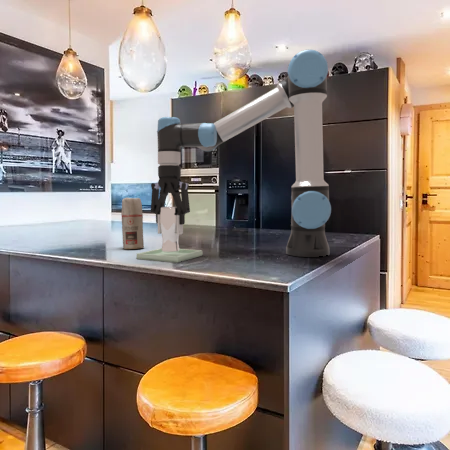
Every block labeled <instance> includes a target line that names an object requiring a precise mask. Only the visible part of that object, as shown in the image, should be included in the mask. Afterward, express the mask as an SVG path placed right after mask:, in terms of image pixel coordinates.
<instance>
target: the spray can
mask: <svg viewBox="0 0 450 450" xmlns="http://www.w3.org/2000/svg"><path fill="white" fill-rule="evenodd" d="M143 214H144V213H143V205H142V200H141V198H140V197H124V198H122V200H121V233H122V245H123V248H122V249H123V250H137V249H143V248H144V247H145V246H144V226H143V225H144V220H143V219H144V217H143Z"/></svg>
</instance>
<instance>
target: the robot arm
mask: <svg viewBox="0 0 450 450" xmlns="http://www.w3.org/2000/svg"><path fill="white" fill-rule="evenodd" d="M328 73H329V65H328V61H327V59H326V57H325V55H324V54H322V53H321V52H319V50H318V51H317V50H316V49H305V50H301V51H299V52H297V53H296V54H295V55H294V56H293V57H292V58H291V60H290V61H289V64H288V67H287V76H286V77H285V78H284V79H282V80H280V81H279V82H277V86H276V87H274V88H273V89H271V90H270V91H268V92H266V93H264V94H262V95H260V96H259V97H257V98H255V99H253V100H251V101H250V102H248V103H247V104H245V105H243V106H241V107H239V108H238V109H236V110H234V111H233V112H231V113H228V115H226V116H223V117H222V118H220V119H218V120H217V121H215V122H211V123H210V122H207V123H206V122H201V123H200V122H199V123H197V122H196V123H181V119H180V118H178V117H175V116H164V117H162V116H161V117H160V118H159V119H158V120H157V131H156V133H157V164H158V167H157V175H158V181H157V182H153V183H151V184H150V187H151V199H150V200H151V202H150V203H151V204H150V212H151V213H153V214H155V223H156V224H157V235H158V234H159V235H160V234H161V235H162V233H161V227H160V207H165V204H166V201H167V197H168V195H169V194H171V196H172V197H173V201H174V203H175V204H174V205H175V207H177V211H178V215H176V226H177V235H179V236H180V235H183V234H184V225H185V223H186V222H185V221H186V220H185V219H186V217H185V216H186V214H189V213H190V212H191V209H190V199H189V198H190V197H189V186H190V184H189V183H188V182H183V181H182V180H181V176H182V174H181V173H182V171H181V169H182V167H181V166H180V165H181V163H182V162H181V158H182V157H181V148H198V149H200V150H201V151H203V152H211V151H215V149H216V148H217V147H218V146H219V145H221V144H223V143H225V142H226V141H228V140H229V139H232V138H233V137H235V136H237V135H239V134H241V133H243V132H245V131H246V130H248V129H249V128H251V127H253V126H256V125H257V124H259V123H260V122H262V121H264V120H266V119H268V118H270V117H271V116H274V115H275V114H278V113H279V112H281V111H282V110H285V109H286V108H288V109H292V108H293V114H294V115H293V117H294V119H293V120H294V146H295V147H294V152H295V154H294V155H295V157H294V158H295V159H294V160H295V182H294V183H293V184H292V185H291V196H290V201H291V217H290V218H291V219H290V223H291V224H290V229H291V230H290V235H289V237H288V241H287V244H286V247H285V254H286V255H288V256H291V257H292V256H293V257H298V258H299V257H301V258H320V257H319V256H323V257H327V256H326V255H328V256H330V246H329V243H328V239H327V236H326V229H325V228H326V223H327V221H329V219H330V217H331V213H332V205H331V202H330V187H329V183H327V182H326V180H325V179H324V142H323V141H324V139H323V138H324V137H323V135H324V134H323V133H324V132H323V102H324V101H325V100H326V99H327V97H328V93H327V92H328V90H327V88H328V86H327V85H328V84H327V83H328V82H327V80H328V79H327V76H328V75H329V74H328ZM179 189H180V190H179Z"/></svg>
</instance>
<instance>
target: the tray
mask: <svg viewBox="0 0 450 450" xmlns="http://www.w3.org/2000/svg"><path fill="white" fill-rule="evenodd" d="M179 249H180V251H179V252H173V253H166V252H162V247H161V248H156V249H151V250H148V251H142V252H138V253H136V260H144V261H153V262H166V263H176V264H178V263H181V261H182V262H184V261H188V260H193V259H195V258H198V257H203V254H204V253H203V250H201V249H190V248H189V249H186V248H179Z"/></svg>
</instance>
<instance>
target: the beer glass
mask: <svg viewBox="0 0 450 450" xmlns="http://www.w3.org/2000/svg"><path fill="white" fill-rule="evenodd" d="M176 215H178V211H177V207H176V206H164V207H160V227H161V238H162V239H161V240H162V245H161V248H162V252H166V253H173V252H179V251H180V249H181V248H180V246H179V236H180V235H177V226H176Z"/></svg>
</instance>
